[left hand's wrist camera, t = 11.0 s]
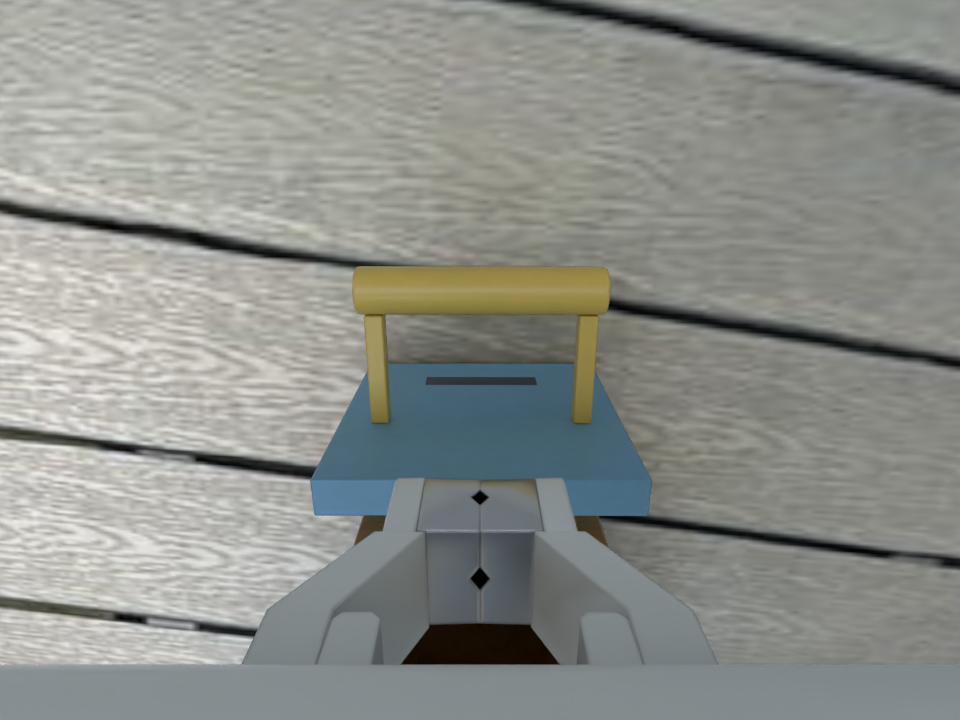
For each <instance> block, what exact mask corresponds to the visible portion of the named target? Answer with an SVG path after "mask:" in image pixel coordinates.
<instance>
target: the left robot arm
mask: <svg viewBox="0 0 960 720" xmlns="http://www.w3.org/2000/svg"><path fill="white" fill-rule="evenodd" d="M472 623H486V624H522V625H531V628H532V629H533V630H534V632H535V633H536V634H537V636H538V637H539V638H540V639H541V641H542V642H543V643H544V645H545V646H546V647H547V648H548V650H549V651H550V652H551V654H552V655H553V656H554V658H555V659H556V660H557V661H558V663H559V664H560V665H400V664H401V663H402V662H403V661H404V659H405V658H406V657H407V655H408V654H409V653H410V652H411V650H412V649H413V648H414V646H415V645H416V644H417V643H418V641H419V640H420V639H421V637H422V636H423V635H424V634H425V632H426V631H427V630H428V628H429V625H437V624H472ZM0 720H960V665H719V664H718V662H717V660H716V658H715V656H714V653H713V651H712V649H711V647H710V645H709V643H708V641H707V638H706V636H705V634H704V632H703V630H702V628H701V625H700V623H699V621H698V619H697V617H696V615H695V613H694V610H692V609H691V608H690V607H688V606H687V605H685V604H684V603H683V602H681V601H680V600H679V599H677V598H676V597H675V596H673V595H672V594H670V593H669V592H668V591H666V590H665V589H664V588H662V587H661V586H659V585H658V584H657V583H655V582H654V581H653V580H651V579H650V578H649V577H647V576H646V575H644V574H643V573H642V572H640V571H639V570H638V569H636V568H635V567H634V566H632V565H631V564H629V563H628V562H627V561H625V560H624V559H623V558H621V557H620V556H618V555H617V554H616V553H614V552H613V551H612V550H610V549H609V548H608V547H606V546H605V545H603V544H602V543H601V542H599V541H598V540H597V539H595V538H594V537H593V536H591V535H590V534H588V533H587V532H585V531H577V527H576V523H575V519H574V516H573V512H572V508H571V504H570V501H569V497H568V493H567V489H566V485H565V482H564V479H562V478H561V477H559V478H532V479H492V480H480V479H450V478H426V479H425V478H398V479H397V480H396V481H395V485H394V489H393V492H392V496H391V500H390V504H389V508H388V512H387V515H386V519H385V523H384V527H383V531H375V532H373V533H372V534H370V535H369V536H368V537H366V538H365V539H363V540H362V541H361V542H359V543H358V544H357V545H355V546H354V547H352V548H351V549H350V550H348V551H347V552H346V553H344V554H343V555H341V556H340V557H339V558H337V559H336V560H335V561H333V562H332V563H330V564H329V565H328V566H326V567H325V568H324V569H322V570H321V571H319V572H318V573H317V574H315V575H314V576H313V577H311V578H310V579H308V580H307V581H306V582H304V583H303V584H302V585H300V586H299V587H297V588H296V589H295V590H293V591H292V592H291V593H289V594H288V595H286V596H285V597H284V598H282V599H281V600H280V601H278V602H277V603H275V604H274V605H273V606H271V607H270V608H269V609H267V611H266V613H265V615H264V618H263V620H262V622H261V624H260V626H259V628H258V630H257V632H256V634H255V637H254V639H253V641H252V643H251V645H250V647H249V649H248V651H247V653H246V656H245V658H244V660H243V662H242V664H241V665H0Z"/></svg>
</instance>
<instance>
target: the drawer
mask: <svg viewBox="0 0 960 720" xmlns="http://www.w3.org/2000/svg"><path fill="white" fill-rule="evenodd" d="M352 293H353V302H354V307H355V310H356V312H357V313H358V314H366V315H365V316H364V326H365V340H366V354H367V367H368V371H367V373H366V375H365V377H364V378H363V380H362V382H361V384H360V386H359V388H358V390H357V392H356V394H355V396H354V398H353V400H352V401H351V403H350V405H349V407H348V409H347V411H346V413H345V415H344V417H343V419H342V421H341V423H340V424H339V426H338V428H337V430H336V432H335V434H334V436H333V438H332V440H331V442H330V444H329V446H328V447H327V449H326V451H325V453H324V455H323V457H322V459H321V461H320V463H319V465H318V467H317V469H316V470H315V472H314V474H313V476H312V478H311V480H310V481H311V490H312V498H313V507H314V514H315V515H363V518H362V521H361V525H360V528H359V531H358V534H357V537H356V540H355V543H354V546H355V545H357V544H358V543H359V542H361V541H362V540H363V539H365V538H366V537H368V536H369V535H370V534H372V533H373V532H375V531H383V527H384V523H385V519H386V515H387V512H388V508H389V504H390V500H391V496H392V492H393V489H394V485H395V481H396V480H397V479H398V478H425V479H426V478H450V479H480V480H492V479H532V478H559V477H561V478H562V479H564V482H565V485H566V489H567V493H568V497H569V501H570V504H571V508H572V512H573V516H574V519H575V523H576V527H577V531H585V532H587V533H588V534H590V535H591V536H593V537H594V538H595V539H597V540H598V541H599V542H601V543H602V544H603V545H605V546H606V547H608V544H607V541H606V538H605V535H604V531H603V528H602V525H601V522H600V519H599V516H647V515H648V510H649V502H650V493H651V485H652V480H651V478H650V476H649V474H648V472H647V470H646V468H645V466H644V464H643V462H642V461H641V459H640V457H639V455H638V453H637V451H636V449H635V447H634V445H633V443H632V441H631V439H630V437H629V436H628V434H627V432H626V430H625V428H624V426H623V424H622V422H621V420H620V418H619V416H618V414H617V413H616V411H615V409H614V407H613V405H612V403H611V401H610V399H609V397H608V395H607V393H606V391H605V390H604V388H603V386H602V384H601V382H600V380H599V378H598V376H597V374H596V372H595V362H596V348H597V335H598V322H599V317H598V315H603V314H605V313H606V311H607V309H608V306H609V300H610V277H609V272H608V269H607V268H606V267H537V266H359V267H357V268H356V269H355V271H354V275H353V284H352ZM385 315H577V327H576V344H575V360H574V364H422V363H388V353H387V336H386V319H385ZM354 546H353V547H354ZM608 548H609V547H608ZM400 665H560V664H559V663H558V661H557V660H556V659H555V658H554V656H553V655H552V654H551V652H550V651H549V650H548V648H547V647H546V646H545V645H544V643H543V642H542V641H541V639H540V638H539V637H538V636H537V634H536V633H535V632H534V630H533V629H532V628H531V625H522V624H486V623H472V624H437V625H429V628H428V630H427V631H426V632H425V634H424V635H423V636H422V637H421V639H420V640H419V641H418V643H417V644H416V645H415V646H414V648H413V649H412V650H411V652H410V653H409V654H408V655H407V657H406V658H405V659H404V661H403V662H402V663H401V664H400Z"/></svg>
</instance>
